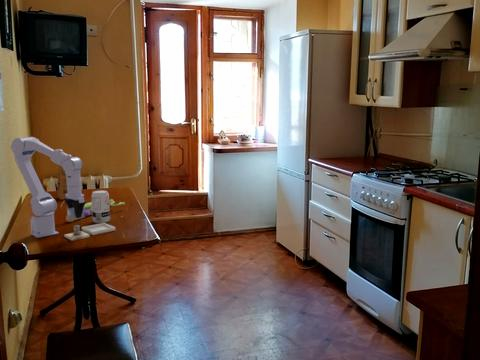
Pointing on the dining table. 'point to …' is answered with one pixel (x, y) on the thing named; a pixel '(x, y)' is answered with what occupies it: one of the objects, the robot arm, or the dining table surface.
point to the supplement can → (100, 206)
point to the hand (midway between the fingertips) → (75, 216)
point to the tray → (98, 228)
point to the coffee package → (61, 183)
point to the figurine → (67, 215)
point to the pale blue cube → (73, 213)
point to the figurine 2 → (89, 205)
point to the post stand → (77, 234)
